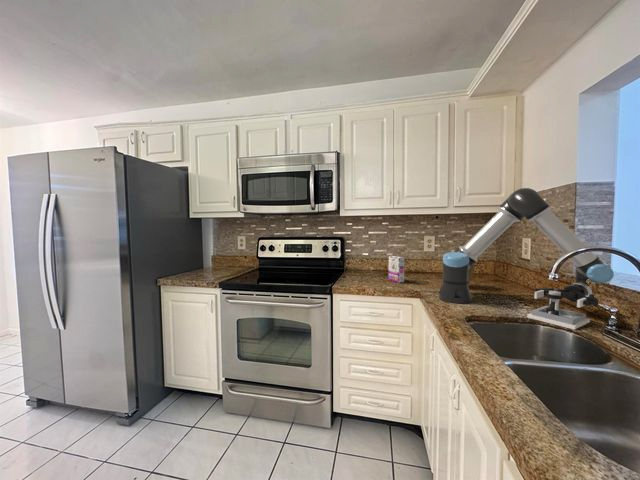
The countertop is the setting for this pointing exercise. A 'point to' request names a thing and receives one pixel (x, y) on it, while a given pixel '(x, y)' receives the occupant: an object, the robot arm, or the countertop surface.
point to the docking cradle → (560, 318)
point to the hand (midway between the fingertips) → (555, 299)
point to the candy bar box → (396, 269)
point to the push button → (554, 302)
